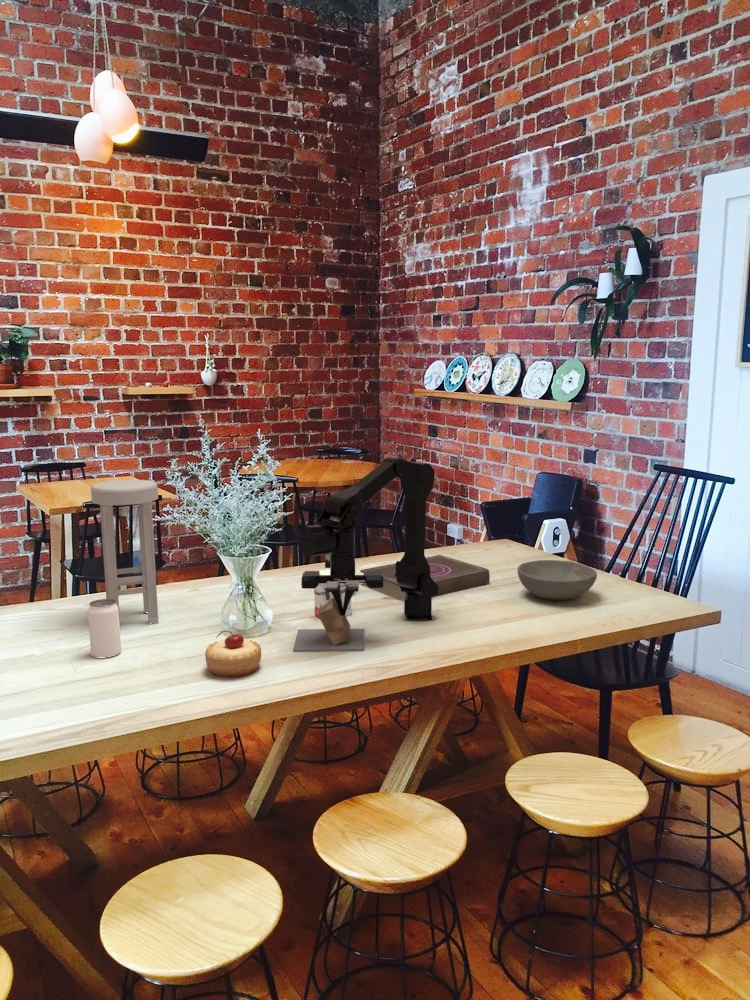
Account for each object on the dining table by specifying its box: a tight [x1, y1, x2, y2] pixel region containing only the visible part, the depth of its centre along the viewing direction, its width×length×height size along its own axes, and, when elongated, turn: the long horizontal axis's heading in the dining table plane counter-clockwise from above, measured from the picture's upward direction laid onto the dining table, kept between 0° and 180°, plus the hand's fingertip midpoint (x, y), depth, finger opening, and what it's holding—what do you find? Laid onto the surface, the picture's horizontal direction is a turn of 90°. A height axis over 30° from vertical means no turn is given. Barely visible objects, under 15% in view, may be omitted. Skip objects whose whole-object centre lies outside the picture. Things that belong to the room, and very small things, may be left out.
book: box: [359, 554, 491, 602], centre depth 232 cm, size 30×22×5 cm
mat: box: [292, 628, 365, 653], centre depth 186 cm, size 16×14×1 cm
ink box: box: [313, 568, 352, 619], centre depth 204 cm, size 8×5×12 cm, turn 123°
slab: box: [318, 597, 351, 645], centre depth 186 cm, size 4×9×8 cm, turn 1°
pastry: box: [204, 630, 262, 678], centre depth 169 cm, size 12×12×9 cm
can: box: [87, 598, 122, 658], centre depth 178 cm, size 6×6×12 cm
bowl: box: [517, 559, 598, 601], centre depth 219 cm, size 21×21×8 cm
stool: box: [90, 479, 159, 624], centre depth 200 cm, size 16×16×35 cm
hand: (343, 615), depth 185 cm, fingers closed
